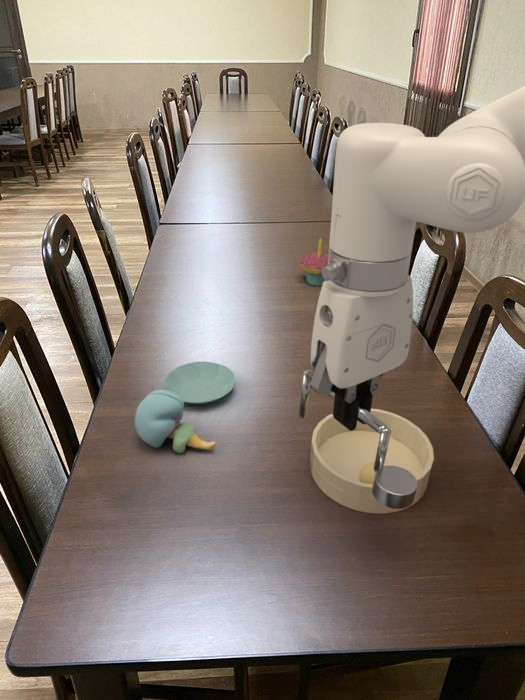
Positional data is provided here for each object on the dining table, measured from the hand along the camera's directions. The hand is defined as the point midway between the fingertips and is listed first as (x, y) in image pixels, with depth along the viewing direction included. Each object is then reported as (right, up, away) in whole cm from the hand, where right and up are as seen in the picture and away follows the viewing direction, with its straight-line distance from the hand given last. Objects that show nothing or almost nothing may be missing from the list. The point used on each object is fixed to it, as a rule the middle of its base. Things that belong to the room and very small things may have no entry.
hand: (350, 419), depth 60 cm
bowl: (+5, -9, +15) cm, 18 cm away
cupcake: (+3, +24, +70) cm, 74 cm away
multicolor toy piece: (-22, -6, +19) cm, 30 cm away
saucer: (-20, +1, +30) cm, 37 cm away
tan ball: (+5, -11, +11) cm, 16 cm away
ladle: (0, -4, +2) cm, 5 cm away
